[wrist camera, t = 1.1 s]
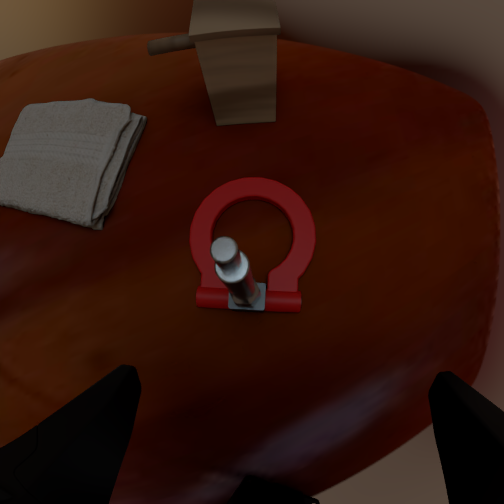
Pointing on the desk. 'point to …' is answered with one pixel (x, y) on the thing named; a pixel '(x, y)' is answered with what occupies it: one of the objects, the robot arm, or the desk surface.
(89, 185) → the washcloth
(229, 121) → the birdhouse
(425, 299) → the desk surface
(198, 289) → the tow hook
